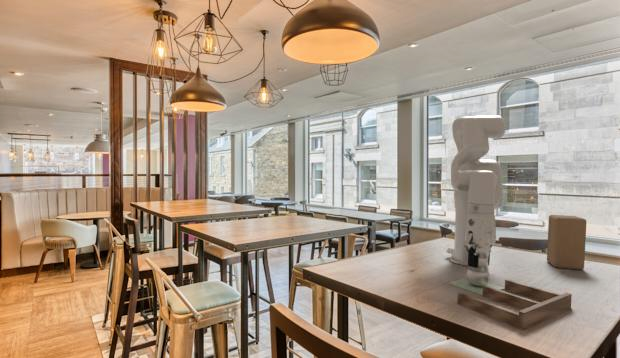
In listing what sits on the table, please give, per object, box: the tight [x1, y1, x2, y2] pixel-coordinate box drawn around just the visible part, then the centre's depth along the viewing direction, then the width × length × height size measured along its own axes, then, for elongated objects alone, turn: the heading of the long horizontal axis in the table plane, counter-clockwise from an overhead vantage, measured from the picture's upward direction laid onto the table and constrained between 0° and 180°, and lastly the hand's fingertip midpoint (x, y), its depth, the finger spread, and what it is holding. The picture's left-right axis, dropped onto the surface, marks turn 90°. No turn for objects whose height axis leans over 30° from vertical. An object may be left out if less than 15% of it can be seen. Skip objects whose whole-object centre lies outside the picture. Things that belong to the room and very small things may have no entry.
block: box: [546, 214, 587, 271], centre depth 136 cm, size 10×10×20 cm
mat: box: [447, 277, 506, 296], centre depth 109 cm, size 12×12×1 cm
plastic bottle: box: [466, 237, 491, 286], centre depth 108 cm, size 6×7×20 cm
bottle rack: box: [456, 278, 573, 331], centre depth 93 cm, size 17×26×4 cm
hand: (478, 265), depth 108 cm, fingers closed on plastic bottle, 5 cm apart
